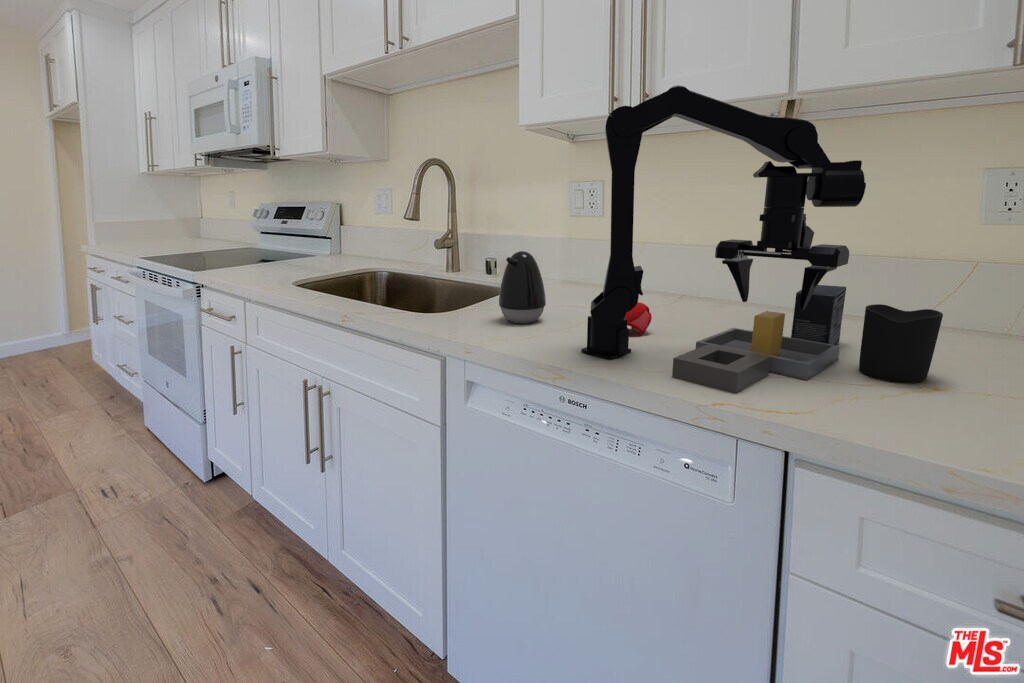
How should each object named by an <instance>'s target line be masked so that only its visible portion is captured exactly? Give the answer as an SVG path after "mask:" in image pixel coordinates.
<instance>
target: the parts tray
mask: <svg viewBox="0 0 1024 683" xmlns="http://www.w3.org/2000/svg"><path fill="white" fill-rule="evenodd" d="M752 335H753V330H751V329H744V328H738V327H737V328H736V327H731V328H729V329H727V330H724V331H721V332H719V333H716V334H713V335H711V336H708V337H705V338H703V339H700V340H697V341H696V342H695V349H697V348H700V347H702V346H705V345H707V344H711V345H716V346H721V347H726V348H731V349H736V350H741V351H746V352H751V353H757V352H752V351H751V344H752ZM840 349H841V345H838V344H837V345H832V344H826V343H820V342H814V341H808V340H803V339H797V338H791V336H785V335H782V343H781V351H780V354H779V355H777V356H772V355H767V354H762V353H757V354H762V355H767V356H771V360H770V368H769V373H770V374H771V373H772V374H776V375H781V376H785V377H790V378H794V379H797V380H798V379H799V380H803V381H808V380H810V379H812V378H813V377H815V376H816V375H818V374H819V373H821V372H822V371H824V370H825V369H827V368H829V367H830V366H832V365H834V364H835V363H836V362H838V361H839V358H840V356H839V355H840Z"/></svg>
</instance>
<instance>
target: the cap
mask: <svg viewBox="0 0 1024 683" xmlns="http://www.w3.org/2000/svg"><path fill="white" fill-rule="evenodd" d="M624 318H625V319H628V323H627V327H631V328H630V329H631V330H632V329H633V331H636V332H638V334H639V335H640V336H643V335H645V332H646V331H647V329H648V328H649V326H650V325H651V322H652V320H653V319H652V318H653V317H652V313H651V312H650V307H649V306H648V305H646V304H645V303H643V302H639V301H638V303H637V305H636V306H635V307H634V308H633V309H632V310H631V311H629V312H627V313H626V315H625V317H624Z"/></svg>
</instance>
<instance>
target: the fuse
mask: <svg viewBox="0 0 1024 683" xmlns="http://www.w3.org/2000/svg"><path fill="white" fill-rule="evenodd" d="M785 317H786V313H784V312H777V311H770V310H769V311H768V310H765V311H763V312H760V313H758V314H756V315H754V318H753V327H752V328H753V329H752V331H753V335H752V344H751V351H752V352H757V353H762V354H767V355H772V356H777V355H779V354H780V351H781V343H782V336H784V335H783V333H784V328H785V327H784V326H785V319H786V318H785Z"/></svg>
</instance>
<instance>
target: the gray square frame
mask: <svg viewBox="0 0 1024 683" xmlns="http://www.w3.org/2000/svg"><path fill="white" fill-rule="evenodd" d="M770 360H771V356H767V355H762V354H757V353H751V352H746V351H741V350H736V349H731V348H726V347H721V346H716V345H711V344H707V345H705V346H702V347H700V348H697V349H696V348H695V349H692V350H690V351H688V352H685V353H682V354H680V355H677V356H675V357H673V359H672V373H671V374H672V376H671V378H675V379H679V380H683V381H686V382H687V381H688V382H691V383H693V384H694V383H695V384H698V385H703V386H707V387H710V388H714V389H718V390H722V391H726V392H730V393H734V394H737V393H739V392H741V391H743V390H745V389H746V388H749V387H750V386H752V385H754V384H755V383H757V382H759V381H761V380H763V379H764V378H766V377H768V376H769V375H770V372H769V368H770Z"/></svg>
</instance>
